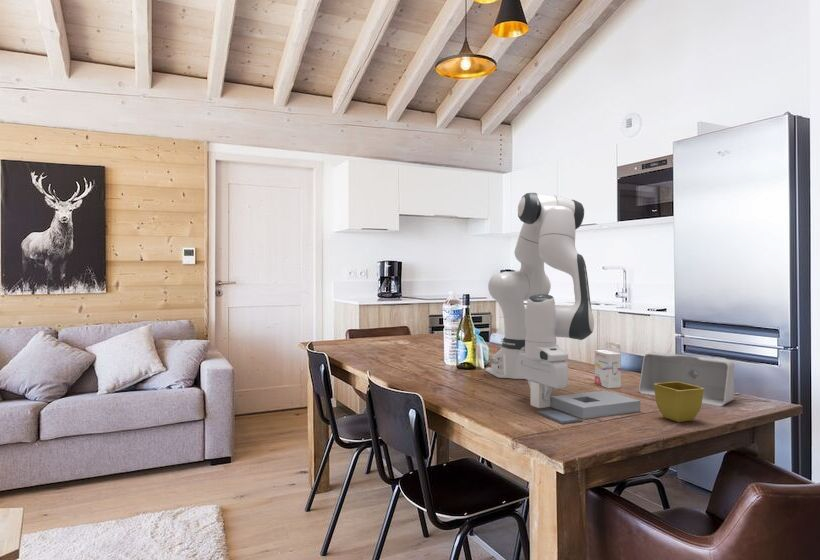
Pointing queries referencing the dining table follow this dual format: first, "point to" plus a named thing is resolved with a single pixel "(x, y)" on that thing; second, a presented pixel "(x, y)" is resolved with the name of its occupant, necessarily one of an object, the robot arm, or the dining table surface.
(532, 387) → the block
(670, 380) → the tank
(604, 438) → the dining table surface
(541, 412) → the phone slab
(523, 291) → the robot arm
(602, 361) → the ink cartridge box
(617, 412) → the outlet board
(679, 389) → the flower pot
